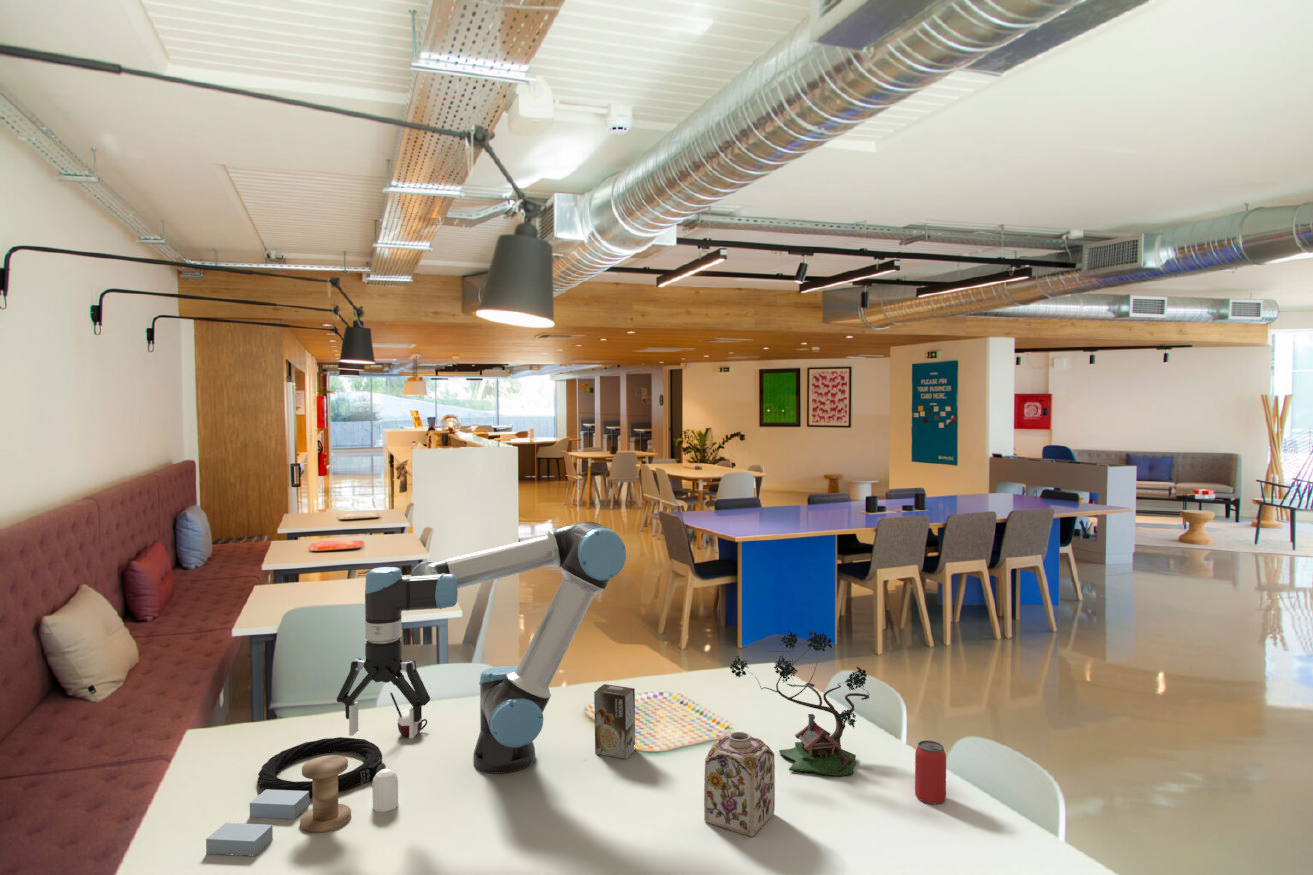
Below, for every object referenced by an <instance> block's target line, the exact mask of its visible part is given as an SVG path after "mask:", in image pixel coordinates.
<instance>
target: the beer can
mask: <svg viewBox="0 0 1313 875" xmlns="http://www.w3.org/2000/svg"><path fill="white" fill-rule="evenodd" d="M914 756H915V757H914V759H915V762H914V764H915V766H914V767H915V770H914V795H915V797H916V798H917V799H918V800H919V801H921V802H923V803H926V804H931V805H939V804H943V803H944V802H945V801H946V799H947V755H946V751H945V748H944V745H943V744H941V743H940V742H937V741H934V740H921V741H918V743H917V746H916V749H915V753H914Z"/></svg>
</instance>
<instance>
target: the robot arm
mask: <svg viewBox="0 0 1313 875" xmlns="http://www.w3.org/2000/svg"><path fill="white" fill-rule="evenodd" d="M626 559H627V549H626V546H625V543H624V541H623V539H622V538H621V537H620V535H619V534H617V533H616V531H614V530H613V529H611V528H609V527H606V526H604V525H602V524H600V523H597V522H595V521H589V520H588V521H581V522H576V523H573V524H569V525H566V526H562V527H559V528H554V529H550V530H549V531H547V533H546V535H543V536H539V537H534V538H531V539H527V540H523V541H518V542H513V543H510V544H506V545H501V546H497V547H494V548H489V549H484V550H480V551H477V552H473V553H468V554H464V555H460V556H456V557H452V558H447V559H445V560H440V561H435V562H432V561H423V562H419V563H418V564H416V566H415V567H414V568H413V569H412V570H411V574H410V576H409V575H407V576H405V575H404V576H403V573H402V570H401V568H399V567H396V566H380V567H375V568H372V569H370V570H368V571H367V573H366V575H365V584H364V585H365V586H364V587H365V588H364V589H365V590H364V606H365V607H364V609H365V610H364V612H365V614H364V616H365V617H364V618H365V624H364V627H365V629H364V630H365V632H364V633H365V635H364V637H365V640H366V641H365V644H364V646H365V647H364V648H365V649H364V651H365V652H364V654H365V660H362V659H361V658H360V657H356V658H355V659H354V660H353V661H351V662H350V670H349V672H348V675H347V676H346V679H345V681H344V683H343V684H342V686H341V689H340V691H339V693H338V695H337V697H336V702H337V703H342V704H344V705H345V719H346V720H348V722H349V723H348V725H349V726H348V729H349V730H348V736H349V737H352V736H354V735H355V734H357V732H358V731H359V701H356V700H357V698H358V697H359V696H360V695H361V694H362V692H363V691H364V690H365V688H366V687H368V685H369V684H370V683H371V682H372V681H373V682H375V683H380V682H383V683H387V684H388V683H389V682H391V683H392V685H394V686H396V688H397V689H398V690H399V691H400V693H401V694H402V695H403V696H404V698H405V699H406V700H407V701H408V703H409V704H410V705H411V706H410V707H409V708H408V709H409V737H408V738H409V739H414V738H415V737H416V736H417V735H418V734H419V733H418V722H419V721H420V720H421V717H422V718H423V715H422V714H423V713H422V712H423V711H422V708H423V706H426V705H427V704H428V703H429V702H431V697H430V695H429V693H428V690H427V689H426V687H425V683H424V682H423V681H422V678H421V676H420V674H419V672H418V670H417V662H416V660H414V659H412V660H410V661H405V662H403V660H402V639H401V637H402V635H403V634H402V612H404V611H405V612H407V611H417V610H418V611H419V610H420V611H422V610H436V609H438V610H442V609H447V608H452V607H455V606H456V605H457V603H458V592H459V591H458V589H462V588H466V587H469V586H474V585H479V584H483V583H486V582H489V581H490V582H491V581H495V580H497V579H498V580H499V579H502V578H505V577H510V576H514V575H518V574H522V573H525V572H529V571H534V570H537V569H541V568H546V567H550V566H554V567H555V568H558V569H559V568H560V569H561V573H562V580H560V584H559V585H558V588H557V589H556V591H555V593H554V595H553V596H552V599H551V601H550V603H549V605H548V607H547V609H546V611H545V613H544V615H543V617H541V618H542V619H541V620H540V622H539V624H538V626H537V628H536V630H535V631H534V634H533V637H532V638H531V641H530V642H529V644H528V646H527V647H526V649H525V652H524V654H523V655H522V658H521V660H520V662H519V663H518V665H502V666H501V665H500V666H495V667H490V668H488V669H485V670H483V671H481V673H480V678H479V679H480V681H479V690H480V694H479V695H480V696H479V697H480V698H479V700H480V701H479V702H480V703H479V704H480V705H479V709H480V712H479V714H480V715H479V716H480V717H479V718H480V723H479V724H480V725H479V726H480V728H479V729H480V731H479V735H478V738H477V741H476V744H475V748H474V751H473V755H472V756H473V757H472V758H473V760H472V761H473V766H474V767H475V768H476V770H477V769H478V770H480V771H482V772H484V773H491V774H506V773H512V772H513V773H514V772H517V771H520V770H523V769H525V768H527V767H529V766H530V765H531V764H532V763H533V762H534V761H535V760H536V759H535V758H536V748H535V745H534V740H536V738H537V737H538V736H539V734H540V733H541V731H542V729H543V726H544V710H545V708H546V707H547V705H548V703H549V701H550V698H551V696H552V693H551V691H550V686H551V682H552V681H553V679H554V676H555V674H556V673H557V671H558V668H559V667H560V665H561V663H562V660H564V656H565V655H566V653H567V651H568V649H569V647H570V644H571V643H572V641H573V639H574V637H575V635H576V634H577V631H578V629H579V627H580V625H581V623H582V621H583V619H584V617H585V615H586V613H587V611H588V609H589V607H590V605H591V604H592V601H593V599H594V598H595V595H596V594H598V593H601V592H603V591H605V589H606V588H607V585H608V584H609V581H610V579H612V578H614V577H616V576H617V575H618V574H620V573H621V571H622V570H623V568H624V566H625V563H626ZM363 668H364V670H365V671H366V673H367V674H366V675H365V676H364V677H363V679H362V680H361V682H360V683H359V684H358V685H357V686H356V687H355V689H354V690H353V691H352V692H351V690H352V688H353V686H354V684H355V681H356V680H357V677H358V675H359V673H360V672H361V670H362V669H363ZM402 669H403V670H404V673H406V675H407V678H408V680H409V682H410V683H411V684H409V682H408V681H407V680H406V678H405V675H404V674H403V673H402V671H401V670H402ZM350 692H351V693H350ZM349 693H350V695H349ZM417 733H418V734H417ZM416 734H417V735H416Z"/></svg>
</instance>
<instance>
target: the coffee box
mask: <svg viewBox="0 0 1313 875" xmlns="http://www.w3.org/2000/svg"><path fill="white" fill-rule="evenodd" d="M635 694H636V691H635V688H634V687H629V686H627V687H626V686H621V685H613V684H607V683H606V684H605V683H604V684H602V685H601V686H599V687H598V688H597V690H595V691H594V694H593V695H594V696H593V697H594V702H593V703H594V750H595V751H594V754H598V755H602V756H608V757H613V758H614V757H615V758H619V759H628V758H629V757H630V756H631V755H632V754H633V753H634V752H635V751H634V745H635V746H636V714H635V713H636V711H635V710H636V705H635V704H636V703H635V700H636V696H635Z"/></svg>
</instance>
